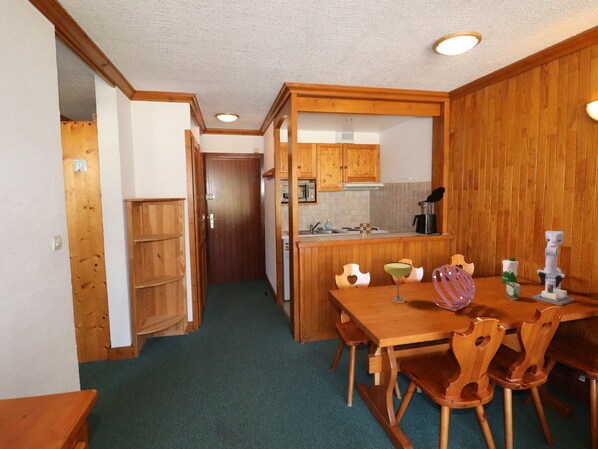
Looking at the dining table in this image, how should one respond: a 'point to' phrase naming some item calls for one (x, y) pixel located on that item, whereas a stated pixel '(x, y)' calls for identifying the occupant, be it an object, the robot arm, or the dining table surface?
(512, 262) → the milk carton
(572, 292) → the dining table surface
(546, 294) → the sliding jaw
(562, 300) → the base
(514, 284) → the food container
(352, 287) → the dining table surface
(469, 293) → the spiral basket
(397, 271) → the cocktail glass
